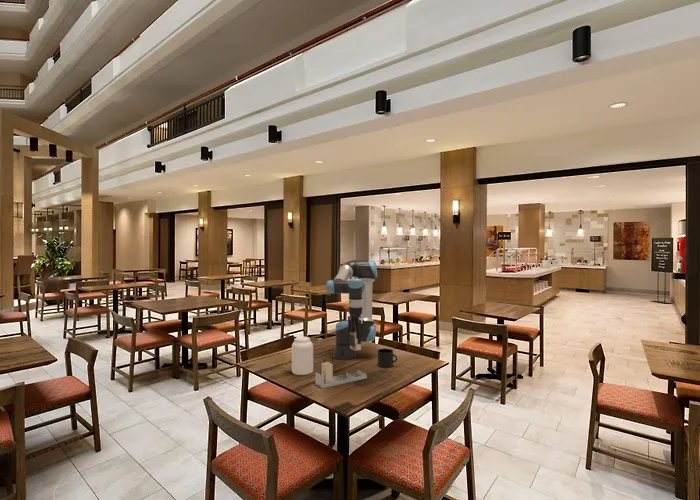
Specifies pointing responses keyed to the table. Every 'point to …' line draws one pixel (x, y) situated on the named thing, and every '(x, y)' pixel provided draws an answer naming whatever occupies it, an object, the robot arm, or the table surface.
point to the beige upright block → (353, 340)
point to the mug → (386, 358)
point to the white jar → (302, 356)
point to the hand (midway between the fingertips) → (355, 348)
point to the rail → (329, 380)
